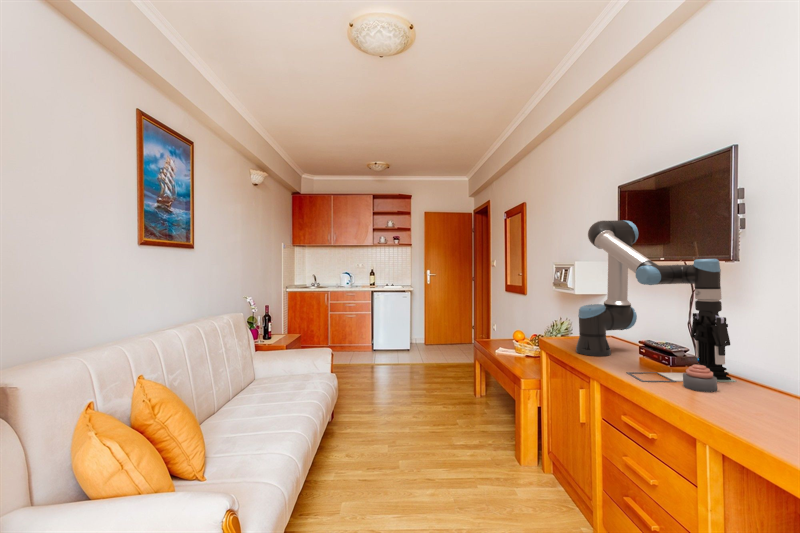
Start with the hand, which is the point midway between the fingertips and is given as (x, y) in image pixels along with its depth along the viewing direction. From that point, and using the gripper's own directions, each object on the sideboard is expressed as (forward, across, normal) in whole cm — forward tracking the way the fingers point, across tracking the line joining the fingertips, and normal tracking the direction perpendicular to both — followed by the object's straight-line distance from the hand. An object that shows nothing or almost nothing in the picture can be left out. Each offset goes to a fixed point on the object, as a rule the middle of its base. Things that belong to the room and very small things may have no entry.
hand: (710, 360), depth 135 cm
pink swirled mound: (+2, +12, -11) cm, 17 cm away
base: (+6, +12, -12) cm, 18 cm away
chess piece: (+6, 0, 0) cm, 6 cm away
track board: (+6, 0, -10) cm, 12 cm away
